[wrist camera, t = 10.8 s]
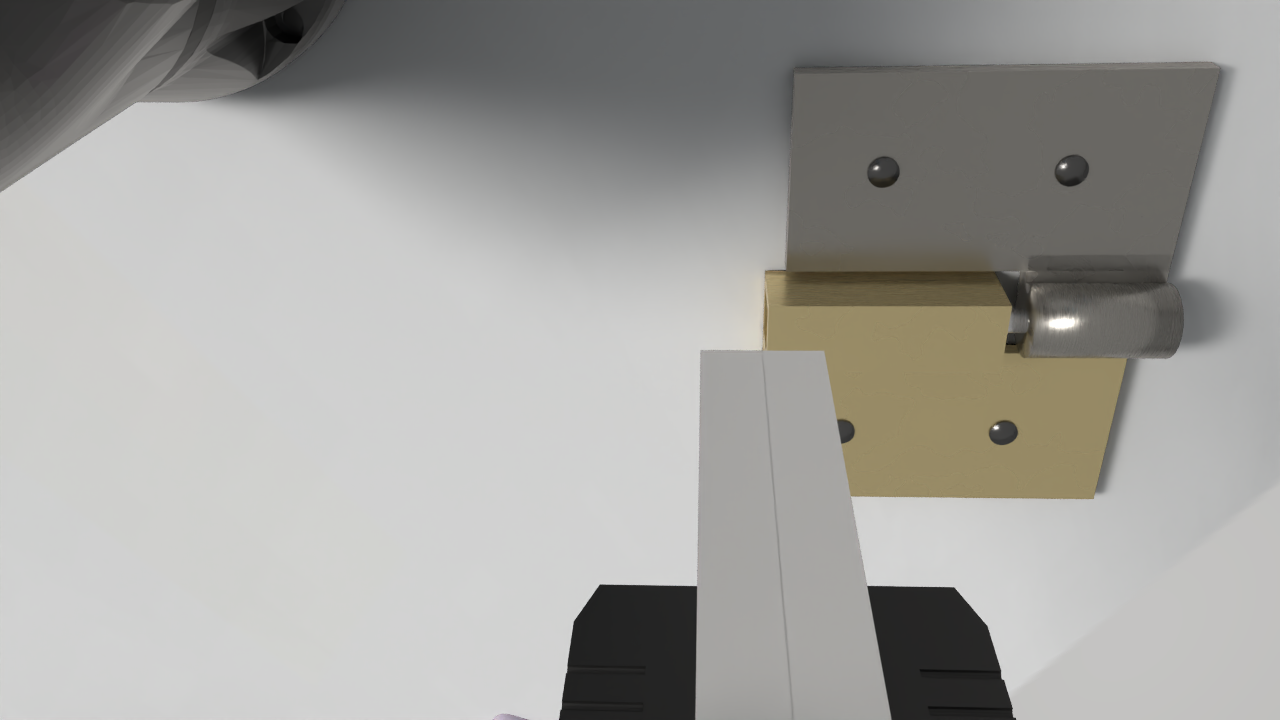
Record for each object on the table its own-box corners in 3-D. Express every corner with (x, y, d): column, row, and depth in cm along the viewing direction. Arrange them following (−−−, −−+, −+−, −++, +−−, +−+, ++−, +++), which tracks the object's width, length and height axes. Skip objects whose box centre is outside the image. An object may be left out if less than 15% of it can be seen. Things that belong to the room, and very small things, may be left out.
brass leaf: (757, 485, 49) (760, 529, 47) (765, 270, 43) (768, 306, 41) (1088, 489, 48) (1110, 533, 46) (1140, 269, 42) (1169, 306, 40)
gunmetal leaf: (781, 333, 45) (786, 371, 42) (793, 67, 39) (799, 92, 37) (1144, 333, 44) (1171, 372, 41) (1211, 61, 38) (1248, 87, 36)
